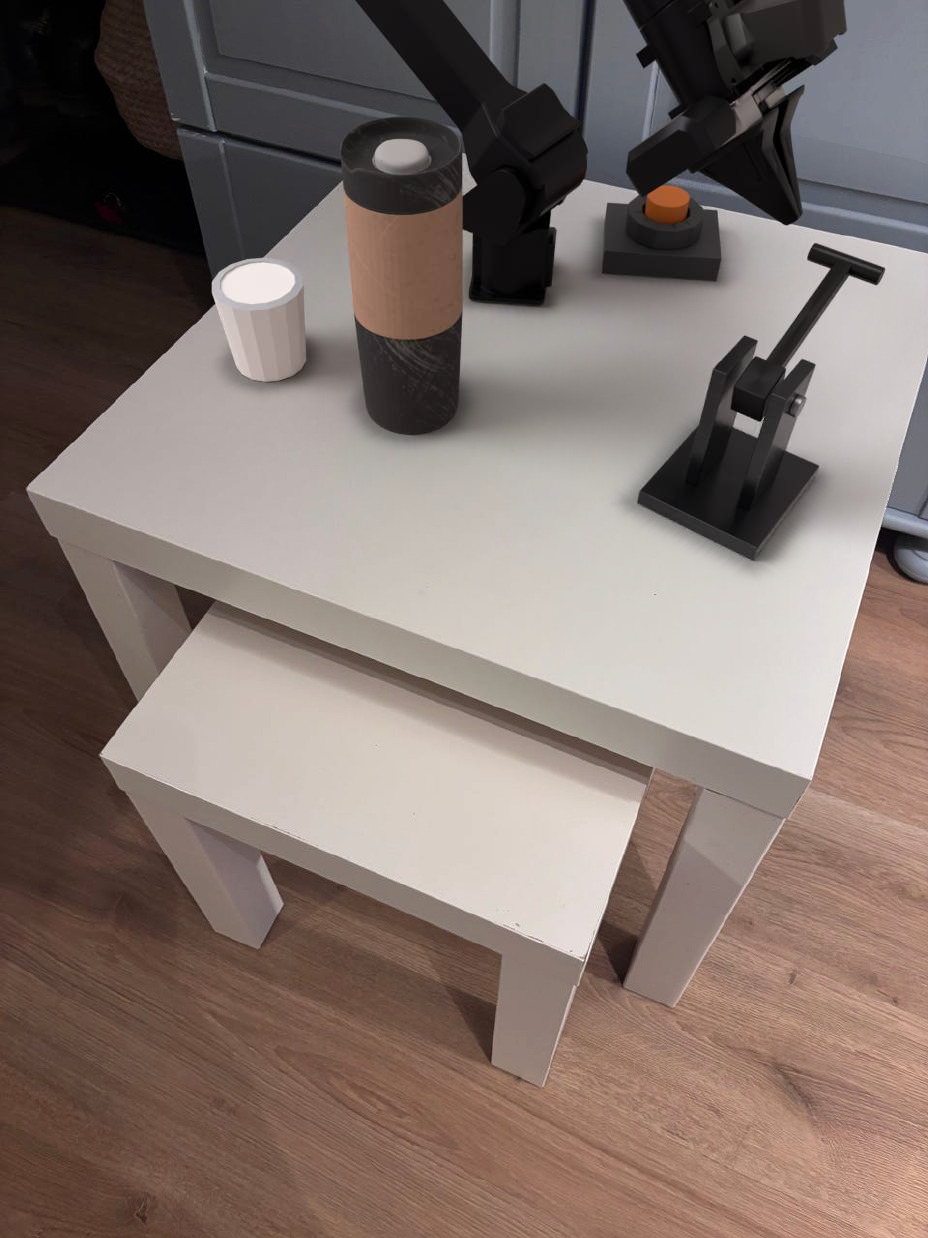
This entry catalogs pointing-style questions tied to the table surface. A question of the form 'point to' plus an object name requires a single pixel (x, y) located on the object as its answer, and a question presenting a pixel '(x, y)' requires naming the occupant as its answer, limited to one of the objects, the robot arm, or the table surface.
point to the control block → (661, 243)
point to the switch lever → (798, 330)
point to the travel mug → (406, 267)
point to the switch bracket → (736, 463)
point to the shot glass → (263, 317)
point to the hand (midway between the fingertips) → (794, 220)
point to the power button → (667, 205)
